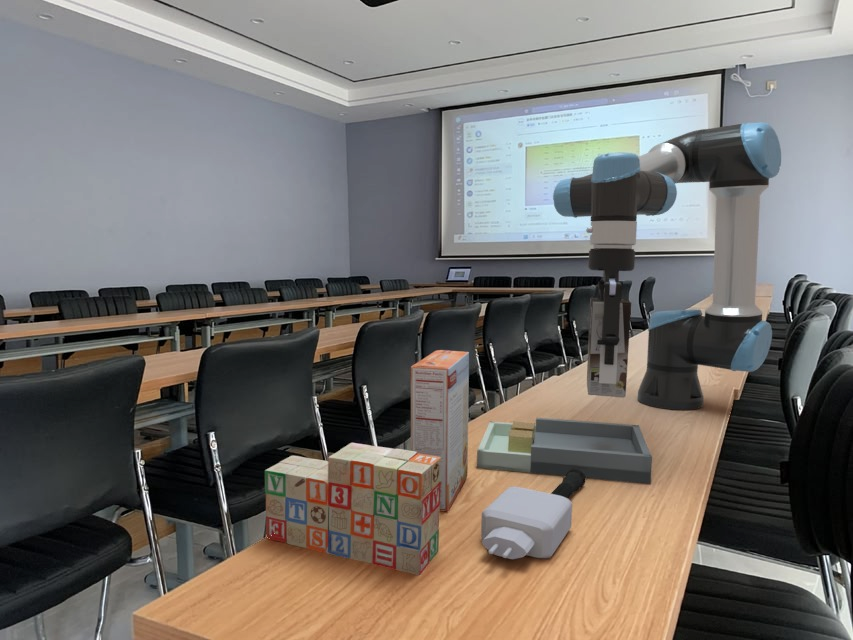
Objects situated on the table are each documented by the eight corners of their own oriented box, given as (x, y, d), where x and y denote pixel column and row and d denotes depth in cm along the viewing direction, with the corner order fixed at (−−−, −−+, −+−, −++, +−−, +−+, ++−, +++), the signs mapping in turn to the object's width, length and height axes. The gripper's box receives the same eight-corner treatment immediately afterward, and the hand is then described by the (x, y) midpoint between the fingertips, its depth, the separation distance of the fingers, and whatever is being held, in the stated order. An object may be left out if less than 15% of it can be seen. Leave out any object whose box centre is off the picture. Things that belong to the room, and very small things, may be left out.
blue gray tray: (637, 448, 115) (638, 425, 115) (650, 484, 98) (652, 457, 97) (535, 439, 120) (536, 417, 119) (530, 472, 102) (531, 446, 101)
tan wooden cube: (534, 443, 115) (534, 423, 115) (532, 450, 111) (533, 429, 111) (512, 441, 116) (513, 421, 116) (510, 448, 112) (511, 427, 112)
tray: (535, 439, 120) (536, 425, 119) (530, 472, 102) (530, 455, 101) (489, 436, 121) (490, 421, 121) (476, 467, 104) (477, 450, 103)
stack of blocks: (264, 540, 77) (263, 446, 76) (293, 520, 83) (292, 432, 81) (420, 576, 69) (422, 471, 68) (440, 551, 75) (442, 454, 74)
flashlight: (585, 488, 96) (586, 470, 96) (552, 529, 82) (553, 507, 82) (566, 484, 98) (567, 466, 98) (530, 523, 84) (531, 502, 83)
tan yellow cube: (531, 452, 110) (532, 431, 110) (531, 460, 106) (531, 437, 106) (509, 450, 111) (510, 429, 110) (507, 458, 107) (508, 435, 107)
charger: (459, 564, 72) (505, 517, 85) (535, 586, 68) (571, 532, 81) (460, 526, 72) (506, 484, 85) (536, 545, 67) (572, 498, 80)
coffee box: (627, 398, 102) (632, 302, 100) (587, 395, 103) (591, 300, 101) (622, 385, 111) (627, 297, 108) (585, 383, 112) (590, 295, 110)
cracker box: (432, 473, 101) (435, 348, 98) (468, 478, 99) (471, 350, 97) (407, 507, 87) (409, 363, 85) (448, 513, 86) (451, 366, 83)
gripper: (587, 247, 115) (582, 364, 118) (590, 246, 94) (584, 389, 97) (629, 247, 113) (623, 366, 116) (642, 247, 92) (634, 392, 95)
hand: (605, 377), depth 106 cm, fingers closed on coffee box, 9 cm apart
